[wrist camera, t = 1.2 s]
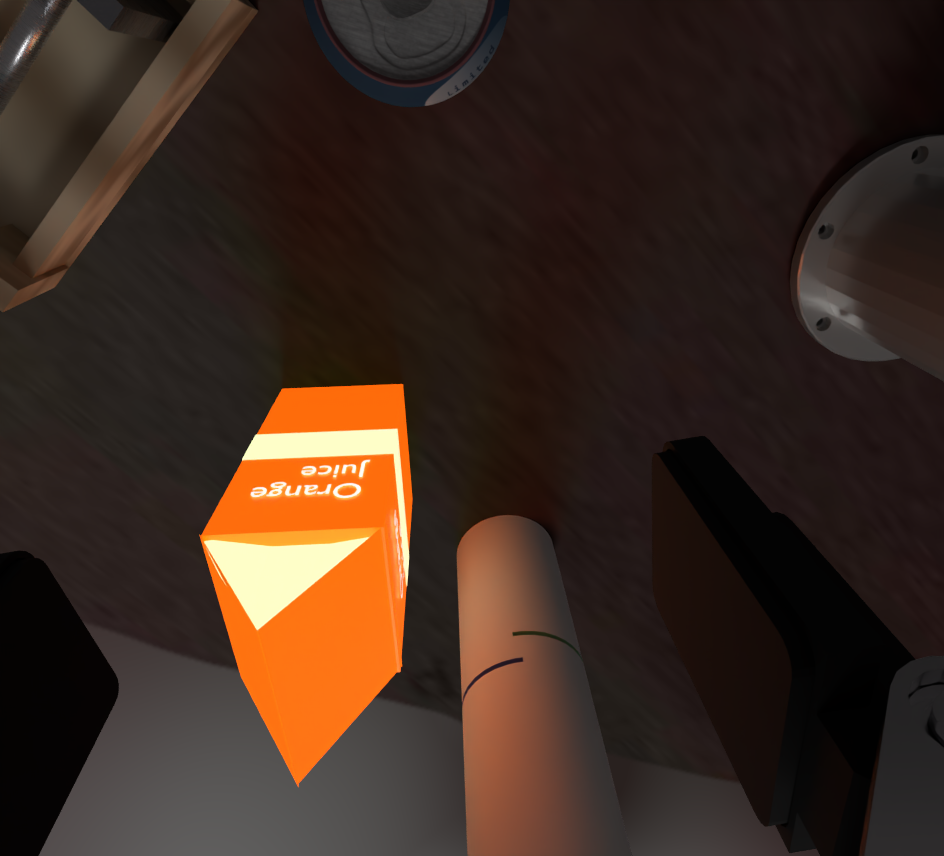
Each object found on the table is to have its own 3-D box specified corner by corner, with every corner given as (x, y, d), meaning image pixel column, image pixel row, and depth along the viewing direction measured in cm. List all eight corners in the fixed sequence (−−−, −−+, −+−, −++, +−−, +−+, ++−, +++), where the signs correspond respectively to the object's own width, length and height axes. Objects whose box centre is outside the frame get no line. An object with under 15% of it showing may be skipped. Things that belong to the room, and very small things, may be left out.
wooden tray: (28, -233, 25) (-73, -315, 20) (262, 15, 29) (226, -2, 24) (-156, 116, 30) (-271, 119, 25) (64, 282, 34) (2, 312, 29)
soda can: (507, 75, 30) (543, 60, 20) (379, 127, 31) (348, 140, 21) (460, -95, 27) (472, -219, 17) (318, -31, 28) (244, -111, 17)
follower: (15, -151, 25) (-126, -234, 19) (193, 27, 28) (123, 7, 22) (-84, 32, 27) (-237, 12, 21) (89, 176, 30) (0, 195, 24)
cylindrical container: (442, 533, 44) (444, 973, 22) (537, 502, 43) (640, 928, 21) (476, 602, 47) (508, 1045, 25) (565, 574, 46) (679, 1009, 24)
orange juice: (404, 382, 38) (374, 625, 20) (414, 499, 42) (396, 784, 25) (278, 387, 38) (137, 637, 20) (300, 504, 42) (199, 796, 24)
